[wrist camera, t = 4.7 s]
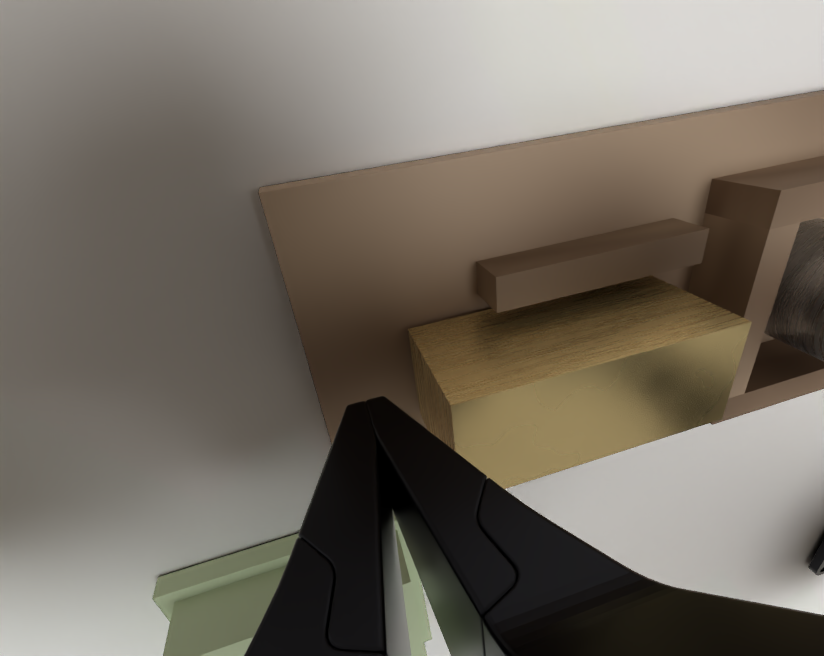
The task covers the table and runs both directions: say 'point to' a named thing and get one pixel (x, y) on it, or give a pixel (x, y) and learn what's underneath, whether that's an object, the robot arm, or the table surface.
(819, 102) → the socket block
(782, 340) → the chrome stepped cylinder
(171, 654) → the tray
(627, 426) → the yellow rectangular block
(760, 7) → the table surface
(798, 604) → the table surface
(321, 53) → the table surface
